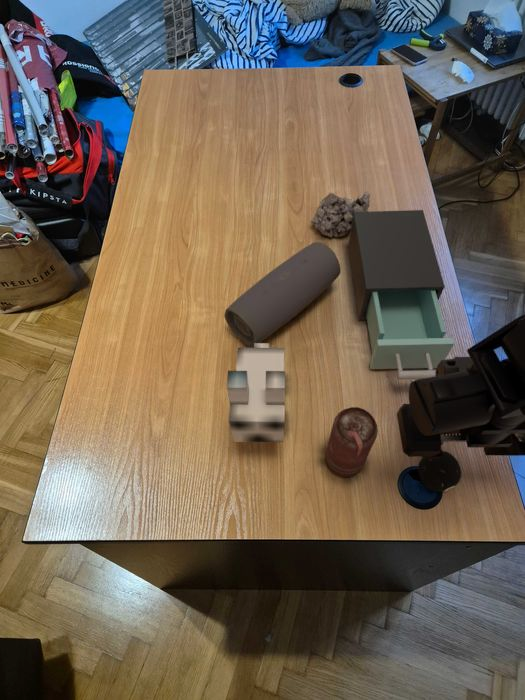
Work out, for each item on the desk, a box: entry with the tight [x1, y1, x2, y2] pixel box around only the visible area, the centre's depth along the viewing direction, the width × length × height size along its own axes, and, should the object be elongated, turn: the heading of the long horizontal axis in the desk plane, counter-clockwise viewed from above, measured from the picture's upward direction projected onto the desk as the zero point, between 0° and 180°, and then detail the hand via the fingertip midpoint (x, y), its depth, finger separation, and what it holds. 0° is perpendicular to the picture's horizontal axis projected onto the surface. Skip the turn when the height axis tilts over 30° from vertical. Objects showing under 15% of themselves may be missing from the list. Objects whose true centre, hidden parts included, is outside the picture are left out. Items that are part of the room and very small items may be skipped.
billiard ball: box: [417, 450, 462, 493], centre depth 71 cm, size 6×6×6 cm
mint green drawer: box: [365, 290, 455, 380], centre depth 83 cm, size 23×12×8 cm, turn 1°
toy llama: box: [226, 342, 286, 443], centre depth 72 cm, size 8×18×20 cm, turn 179°
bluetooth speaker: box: [224, 241, 342, 347], centre depth 88 cm, size 23×9×10 cm, turn 134°
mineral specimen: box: [309, 191, 371, 238], centre depth 101 cm, size 12×9×10 cm
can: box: [324, 406, 379, 478], centre depth 69 cm, size 6×6×14 cm
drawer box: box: [347, 209, 445, 322], centre depth 91 cm, size 20×14×10 cm
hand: (456, 452), depth 64 cm, fingers open, 8 cm apart
